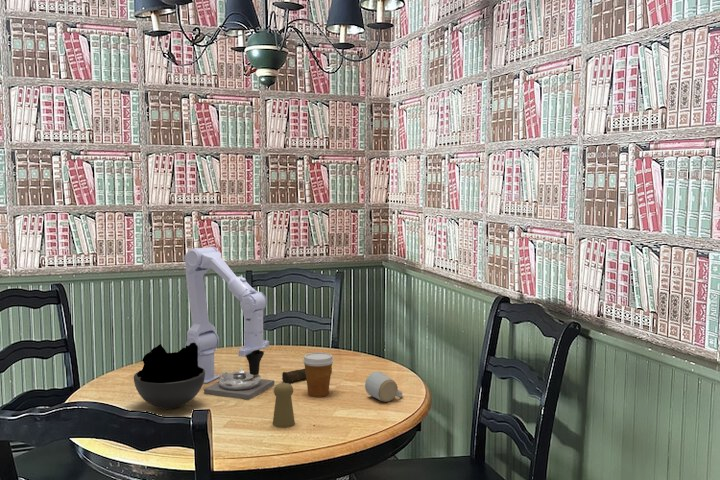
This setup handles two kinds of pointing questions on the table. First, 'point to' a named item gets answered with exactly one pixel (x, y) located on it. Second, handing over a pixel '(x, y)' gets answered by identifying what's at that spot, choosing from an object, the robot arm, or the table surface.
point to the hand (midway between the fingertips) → (254, 374)
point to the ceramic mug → (382, 387)
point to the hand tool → (294, 375)
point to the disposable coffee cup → (318, 373)
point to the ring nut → (239, 380)
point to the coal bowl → (170, 377)
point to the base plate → (240, 394)
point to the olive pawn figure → (283, 406)
